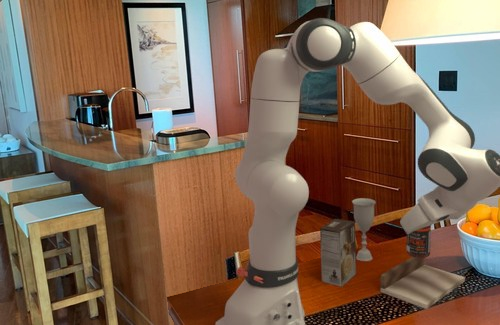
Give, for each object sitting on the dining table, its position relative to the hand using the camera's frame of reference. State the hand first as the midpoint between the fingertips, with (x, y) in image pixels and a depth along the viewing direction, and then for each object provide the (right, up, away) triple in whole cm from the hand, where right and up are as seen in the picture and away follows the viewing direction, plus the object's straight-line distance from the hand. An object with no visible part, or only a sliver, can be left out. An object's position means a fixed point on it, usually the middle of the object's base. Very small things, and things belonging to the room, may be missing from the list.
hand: (416, 228), depth 127 cm
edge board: (+2, -16, +2) cm, 16 cm away
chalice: (-9, -12, +22) cm, 26 cm away
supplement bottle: (+1, -7, +1) cm, 7 cm away
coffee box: (-19, -16, +9) cm, 26 cm away
